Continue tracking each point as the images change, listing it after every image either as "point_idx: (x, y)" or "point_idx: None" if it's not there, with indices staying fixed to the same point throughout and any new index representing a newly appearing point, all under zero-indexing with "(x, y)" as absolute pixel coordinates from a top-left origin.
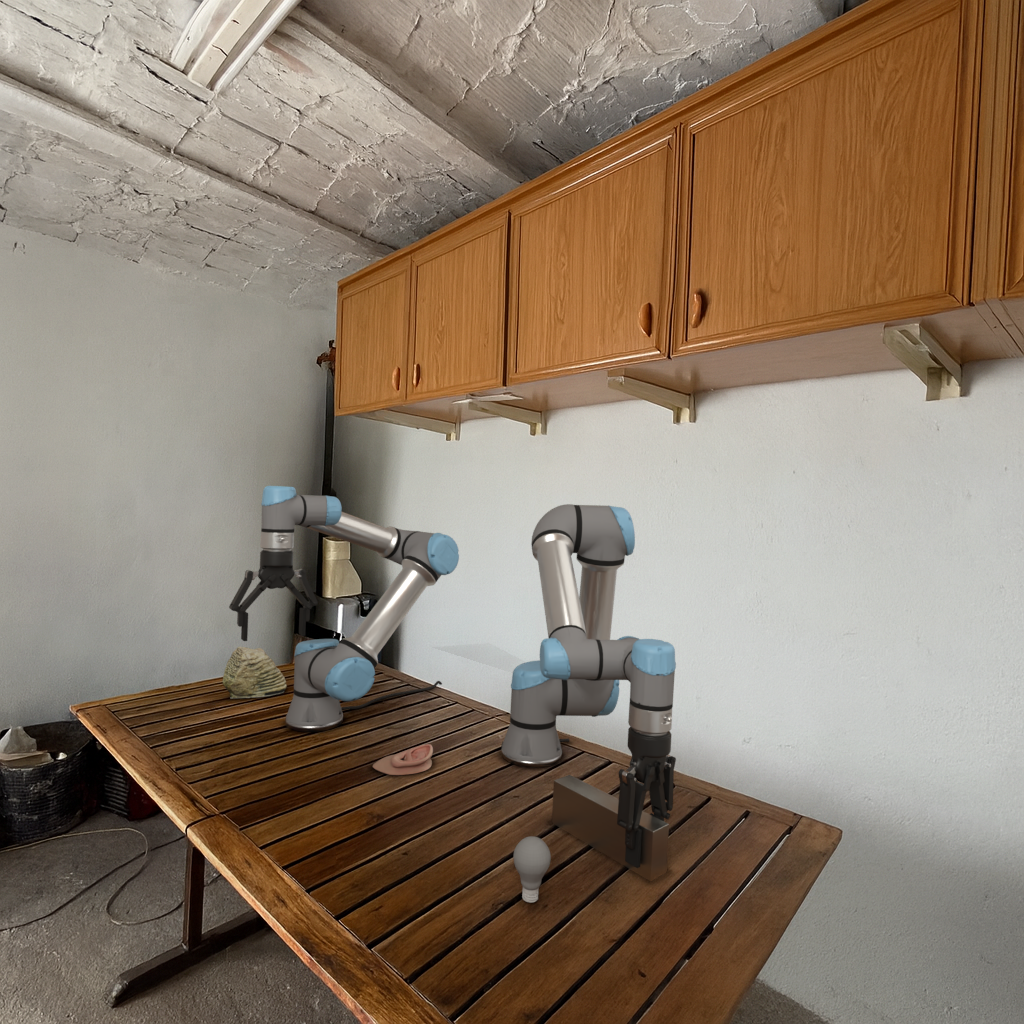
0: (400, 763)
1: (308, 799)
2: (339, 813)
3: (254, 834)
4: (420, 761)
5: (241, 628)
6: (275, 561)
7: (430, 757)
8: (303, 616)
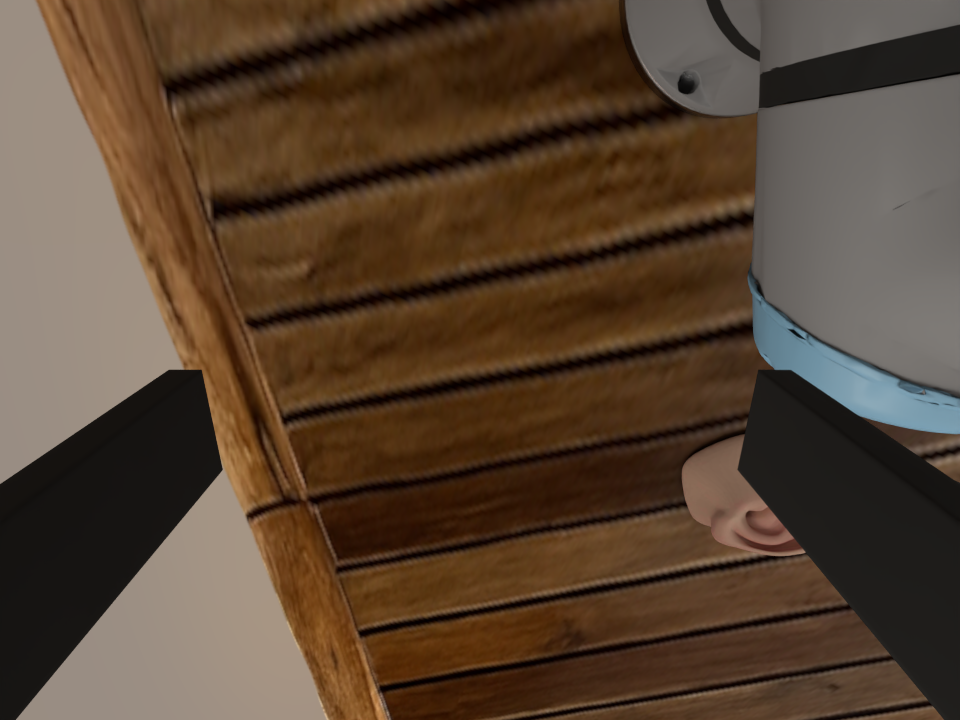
0: (725, 543)
1: (486, 528)
2: (518, 599)
3: (357, 595)
4: (772, 555)
5: (94, 422)
6: None
7: None
8: (880, 637)
